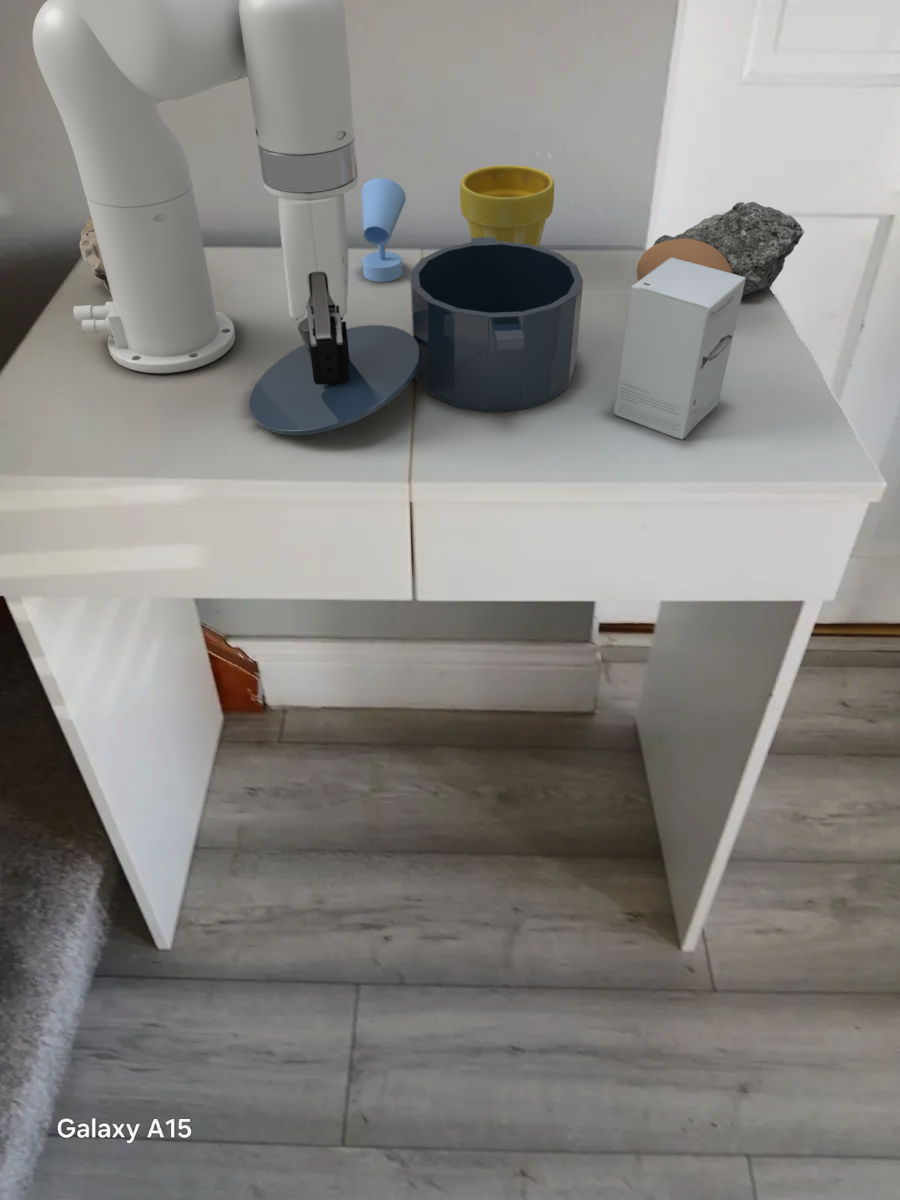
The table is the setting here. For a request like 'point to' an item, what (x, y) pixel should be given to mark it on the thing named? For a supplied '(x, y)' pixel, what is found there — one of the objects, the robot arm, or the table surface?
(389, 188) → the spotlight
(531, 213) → the flower pot
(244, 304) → the table surface
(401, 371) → the pot lid
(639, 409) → the white packaging box
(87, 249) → the rock
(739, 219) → the rock
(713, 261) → the egg
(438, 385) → the pot
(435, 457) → the table surface
